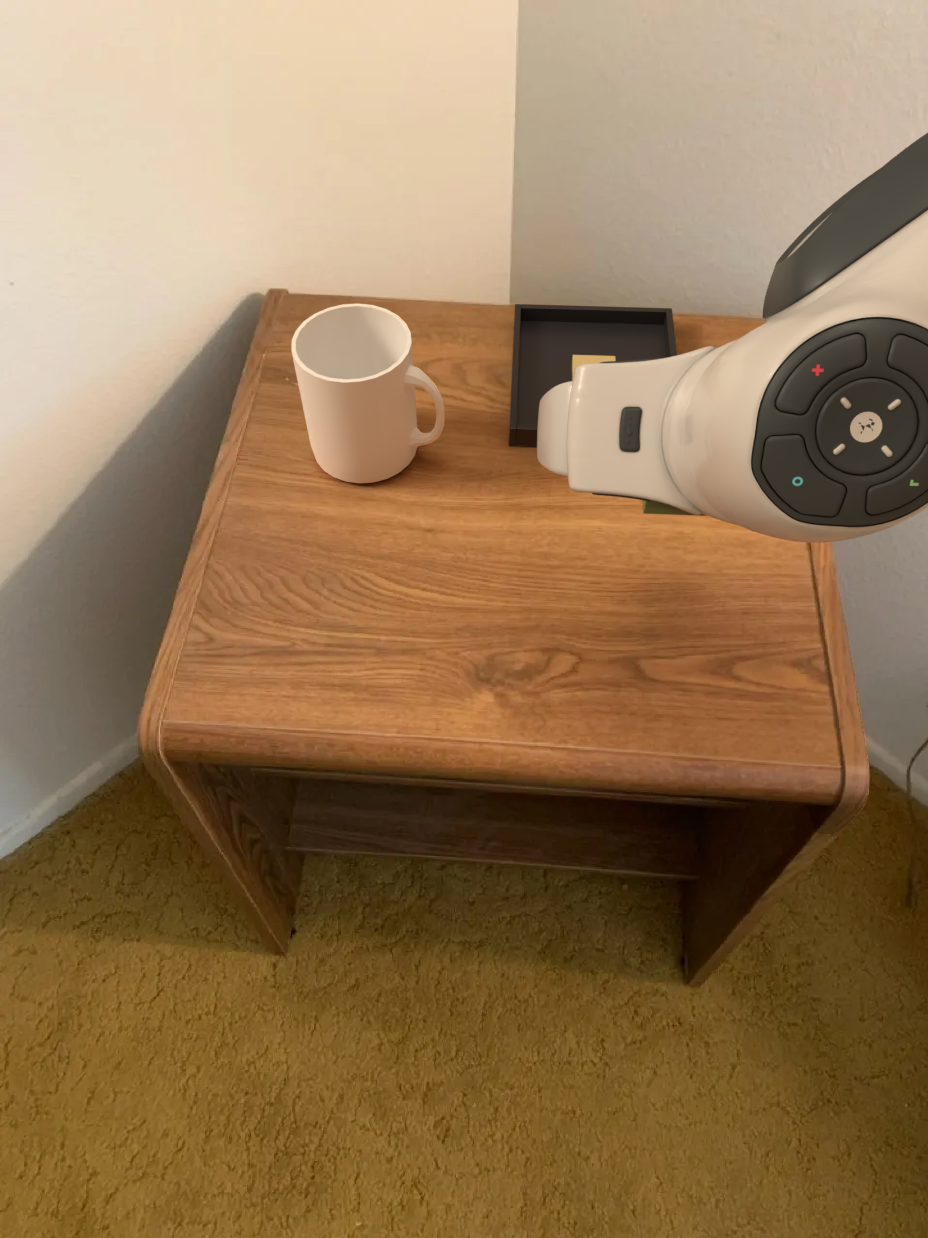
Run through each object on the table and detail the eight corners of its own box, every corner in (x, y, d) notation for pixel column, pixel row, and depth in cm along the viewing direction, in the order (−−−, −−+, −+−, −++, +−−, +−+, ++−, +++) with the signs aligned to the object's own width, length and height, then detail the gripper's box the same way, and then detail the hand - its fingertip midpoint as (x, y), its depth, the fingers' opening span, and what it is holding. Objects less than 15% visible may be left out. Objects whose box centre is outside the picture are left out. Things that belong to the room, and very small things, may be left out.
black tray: (668, 325, 91) (672, 307, 89) (681, 451, 81) (685, 434, 80) (514, 321, 92) (514, 303, 90) (508, 445, 82) (509, 428, 80)
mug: (320, 409, 85) (300, 302, 75) (450, 413, 84) (447, 305, 75) (305, 486, 80) (282, 381, 70) (444, 490, 79) (440, 384, 69)
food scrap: (614, 364, 87) (615, 355, 86) (615, 393, 85) (617, 384, 84) (571, 362, 87) (572, 354, 86) (572, 391, 85) (573, 383, 84)
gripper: (966, 374, 45) (859, 391, 59) (545, 362, 46) (536, 381, 59) (949, 504, 46) (848, 491, 60) (539, 490, 47) (532, 480, 61)
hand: (690, 436), depth 60 cm, fingers closed on scrub brush, 3 cm apart
